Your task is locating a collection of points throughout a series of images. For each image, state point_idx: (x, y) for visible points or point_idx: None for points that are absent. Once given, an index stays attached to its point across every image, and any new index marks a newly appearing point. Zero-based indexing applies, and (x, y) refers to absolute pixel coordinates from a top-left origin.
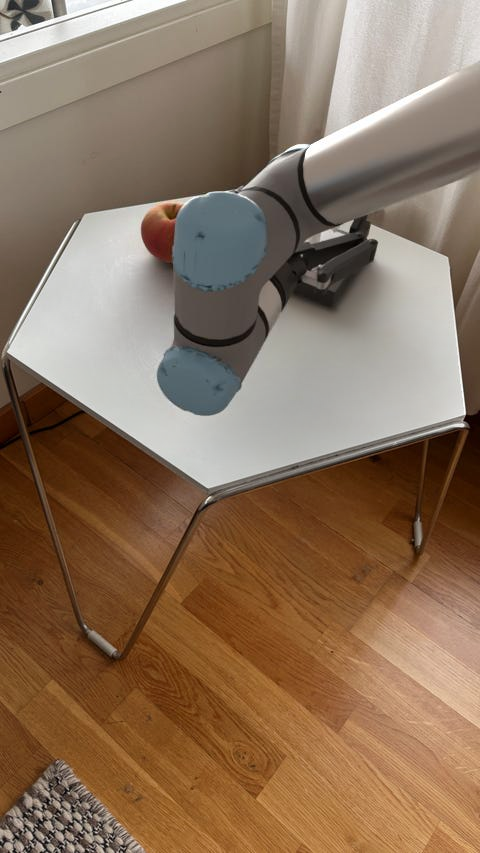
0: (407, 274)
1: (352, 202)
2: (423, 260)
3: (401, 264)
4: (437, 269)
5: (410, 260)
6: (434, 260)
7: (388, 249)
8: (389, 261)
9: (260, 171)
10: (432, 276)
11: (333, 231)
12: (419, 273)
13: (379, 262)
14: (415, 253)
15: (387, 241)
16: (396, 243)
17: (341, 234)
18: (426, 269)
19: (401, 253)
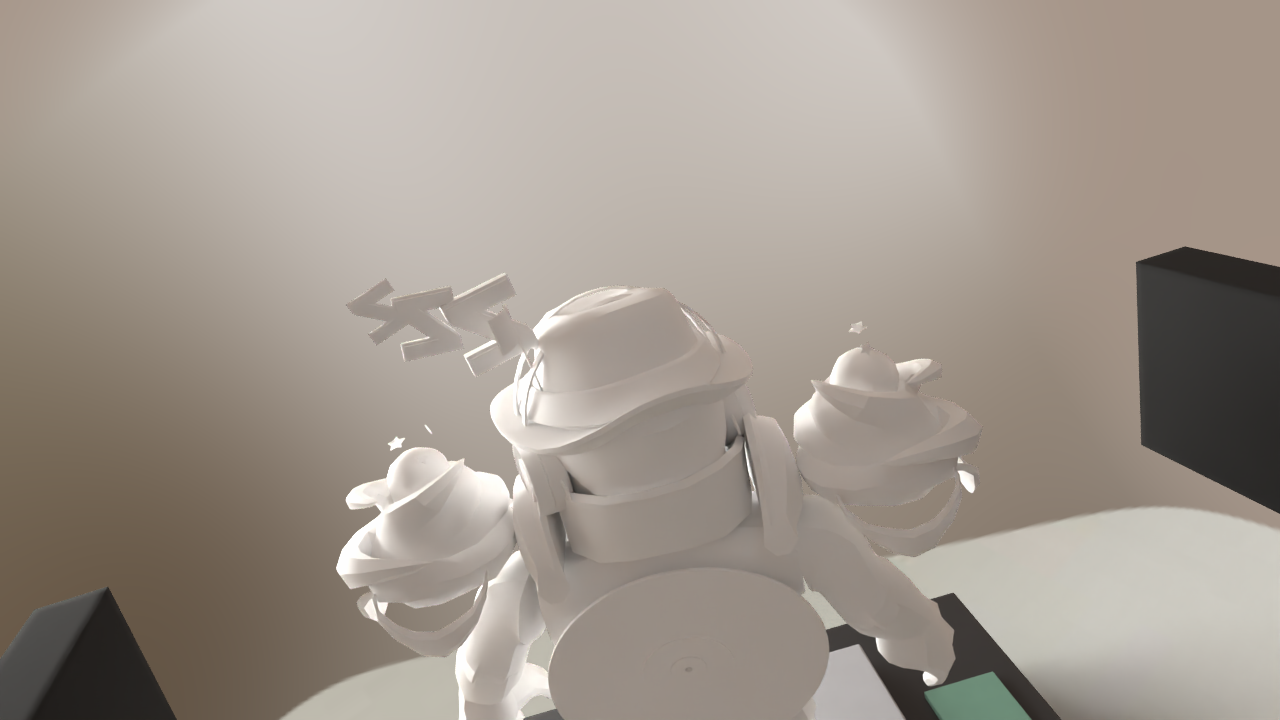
0: (1211, 626)
1: None
2: (1134, 532)
3: (1116, 604)
4: (1228, 526)
5: (1106, 565)
6: (1155, 507)
7: (978, 585)
8: (1064, 627)
9: (49, 619)
10: (1277, 561)
11: (938, 679)
12: (1227, 586)
13: (1046, 662)
14: (1068, 530)
15: (926, 561)
16: (961, 545)
17: (830, 661)
18: (1208, 554)
19: (1036, 565)
